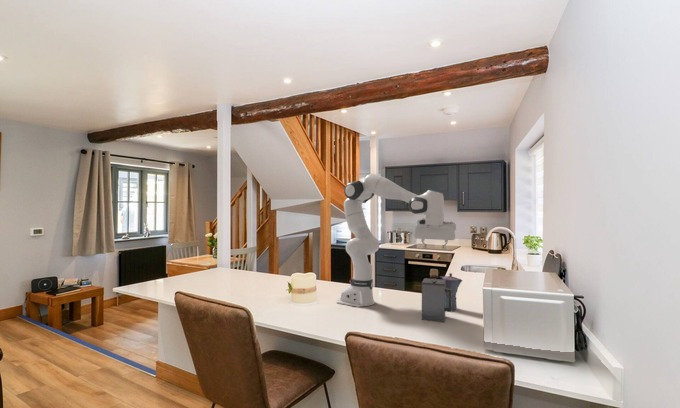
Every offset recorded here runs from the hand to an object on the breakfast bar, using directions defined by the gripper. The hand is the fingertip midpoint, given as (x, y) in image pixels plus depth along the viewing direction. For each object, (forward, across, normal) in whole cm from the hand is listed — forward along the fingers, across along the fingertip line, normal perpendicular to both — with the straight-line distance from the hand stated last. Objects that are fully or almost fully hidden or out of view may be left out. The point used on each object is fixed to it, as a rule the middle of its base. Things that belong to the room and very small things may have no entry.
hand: (434, 248), depth 181 cm
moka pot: (+36, -6, -20) cm, 42 cm away
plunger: (+34, 0, 0) cm, 34 cm away
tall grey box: (+36, -2, 0) cm, 36 cm away
